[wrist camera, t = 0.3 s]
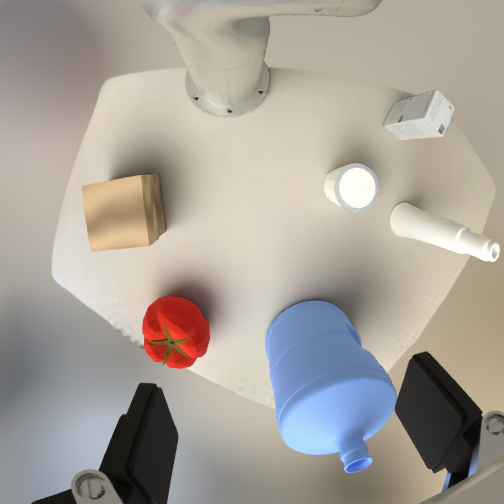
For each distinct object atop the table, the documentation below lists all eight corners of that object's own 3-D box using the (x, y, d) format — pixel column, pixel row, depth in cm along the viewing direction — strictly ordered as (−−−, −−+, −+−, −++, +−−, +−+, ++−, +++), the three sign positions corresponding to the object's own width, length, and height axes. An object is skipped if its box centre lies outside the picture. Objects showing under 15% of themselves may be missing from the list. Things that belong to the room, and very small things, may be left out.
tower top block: (96, 184, 36) (81, 186, 31) (151, 174, 36) (140, 174, 32) (104, 244, 38) (91, 251, 34) (159, 238, 38) (149, 245, 34)
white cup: (317, 165, 41) (331, 164, 34) (357, 163, 41) (377, 162, 34) (321, 209, 42) (336, 216, 36) (361, 205, 42) (381, 211, 36)
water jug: (258, 368, 50) (273, 500, 23) (273, 293, 46) (310, 429, 19) (335, 370, 51) (385, 483, 24) (358, 301, 47) (447, 407, 20)
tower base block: (109, 182, 40) (96, 183, 36) (160, 173, 40) (151, 173, 36) (116, 236, 42) (104, 243, 38) (166, 230, 43) (159, 236, 38)
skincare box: (394, 101, 38) (435, 85, 26) (413, 117, 39) (456, 107, 27) (381, 127, 39) (422, 115, 27) (400, 143, 40) (444, 137, 28)
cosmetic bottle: (403, 243, 44) (490, 287, 23) (383, 221, 43) (473, 257, 22) (421, 217, 43) (512, 247, 22) (402, 195, 42) (497, 214, 21)
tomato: (189, 278, 44) (178, 301, 36) (223, 335, 47) (220, 367, 39) (137, 302, 45) (118, 327, 36) (173, 355, 48) (162, 386, 39)
